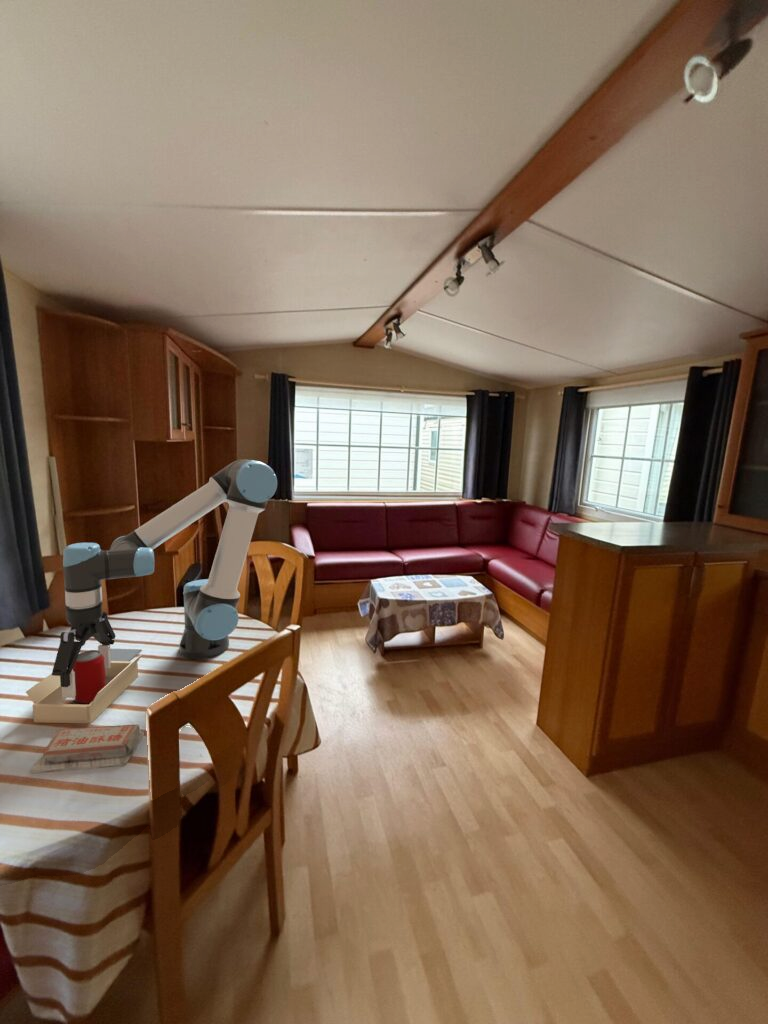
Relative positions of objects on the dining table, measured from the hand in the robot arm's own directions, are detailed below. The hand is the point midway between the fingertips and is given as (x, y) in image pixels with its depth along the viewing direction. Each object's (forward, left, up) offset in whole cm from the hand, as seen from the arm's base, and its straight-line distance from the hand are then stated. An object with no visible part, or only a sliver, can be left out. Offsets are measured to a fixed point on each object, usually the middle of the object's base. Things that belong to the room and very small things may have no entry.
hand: (88, 681), depth 107 cm
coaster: (+6, -19, -5) cm, 21 cm away
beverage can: (0, 0, -5) cm, 5 cm away
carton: (0, 0, -5) cm, 5 cm away
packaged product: (-13, +19, -5) cm, 24 cm away
